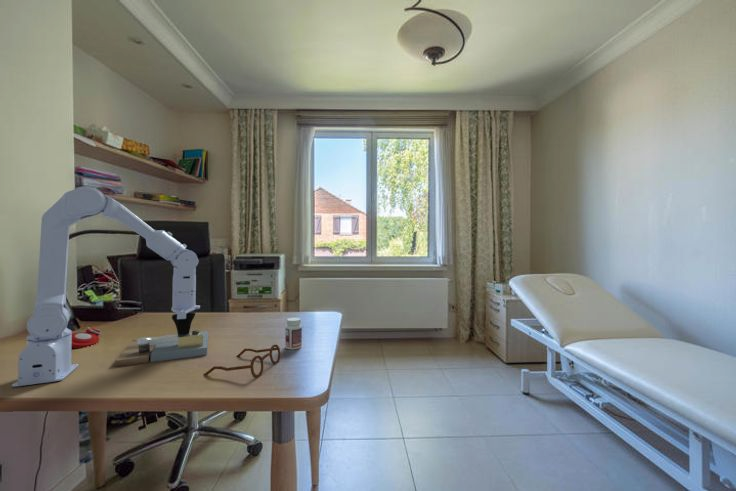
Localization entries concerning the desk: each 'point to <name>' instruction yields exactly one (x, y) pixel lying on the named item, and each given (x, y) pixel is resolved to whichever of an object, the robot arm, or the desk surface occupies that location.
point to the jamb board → (134, 354)
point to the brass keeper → (190, 341)
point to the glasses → (252, 361)
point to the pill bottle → (293, 334)
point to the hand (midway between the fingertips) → (183, 339)
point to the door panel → (178, 350)
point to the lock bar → (161, 339)
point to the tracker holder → (85, 338)
